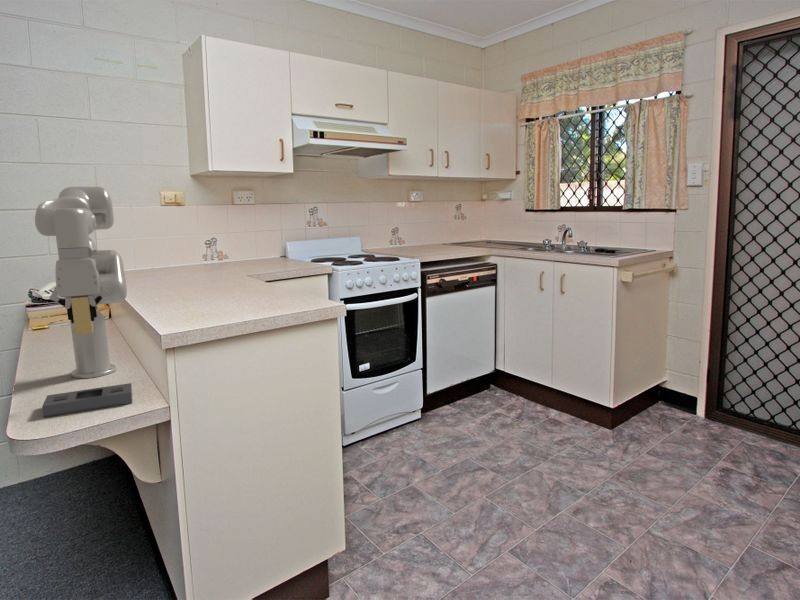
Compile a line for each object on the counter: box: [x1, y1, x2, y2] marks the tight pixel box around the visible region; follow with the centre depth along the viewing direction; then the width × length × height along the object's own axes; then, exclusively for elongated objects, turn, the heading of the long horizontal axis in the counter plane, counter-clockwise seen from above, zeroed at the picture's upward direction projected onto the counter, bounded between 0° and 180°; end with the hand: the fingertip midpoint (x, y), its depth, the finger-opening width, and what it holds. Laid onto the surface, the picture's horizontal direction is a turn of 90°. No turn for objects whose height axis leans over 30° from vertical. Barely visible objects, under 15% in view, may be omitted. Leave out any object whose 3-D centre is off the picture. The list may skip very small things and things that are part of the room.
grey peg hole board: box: [41, 382, 133, 419], centre depth 141 cm, size 9×20×3 cm, turn 117°
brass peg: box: [71, 296, 93, 335], centre depth 144 cm, size 4×4×10 cm
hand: (83, 320), depth 144 cm, fingers closed on brass peg, 4 cm apart
